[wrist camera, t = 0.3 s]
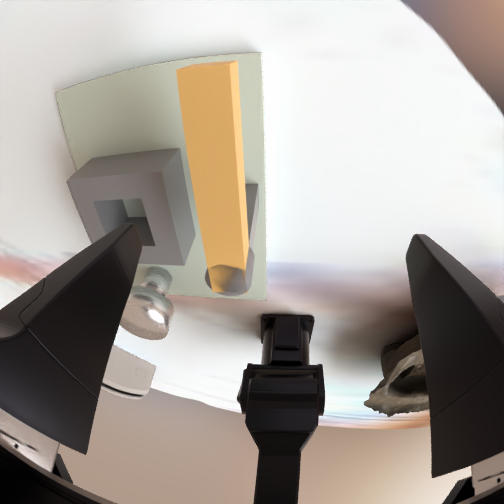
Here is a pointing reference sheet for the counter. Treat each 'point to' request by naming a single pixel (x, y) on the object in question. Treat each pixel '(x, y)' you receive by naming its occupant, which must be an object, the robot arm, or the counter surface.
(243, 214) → the bar
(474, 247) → the counter surface
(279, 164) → the counter surface
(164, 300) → the pin
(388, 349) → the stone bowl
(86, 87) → the block
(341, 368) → the counter surface
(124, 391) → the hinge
